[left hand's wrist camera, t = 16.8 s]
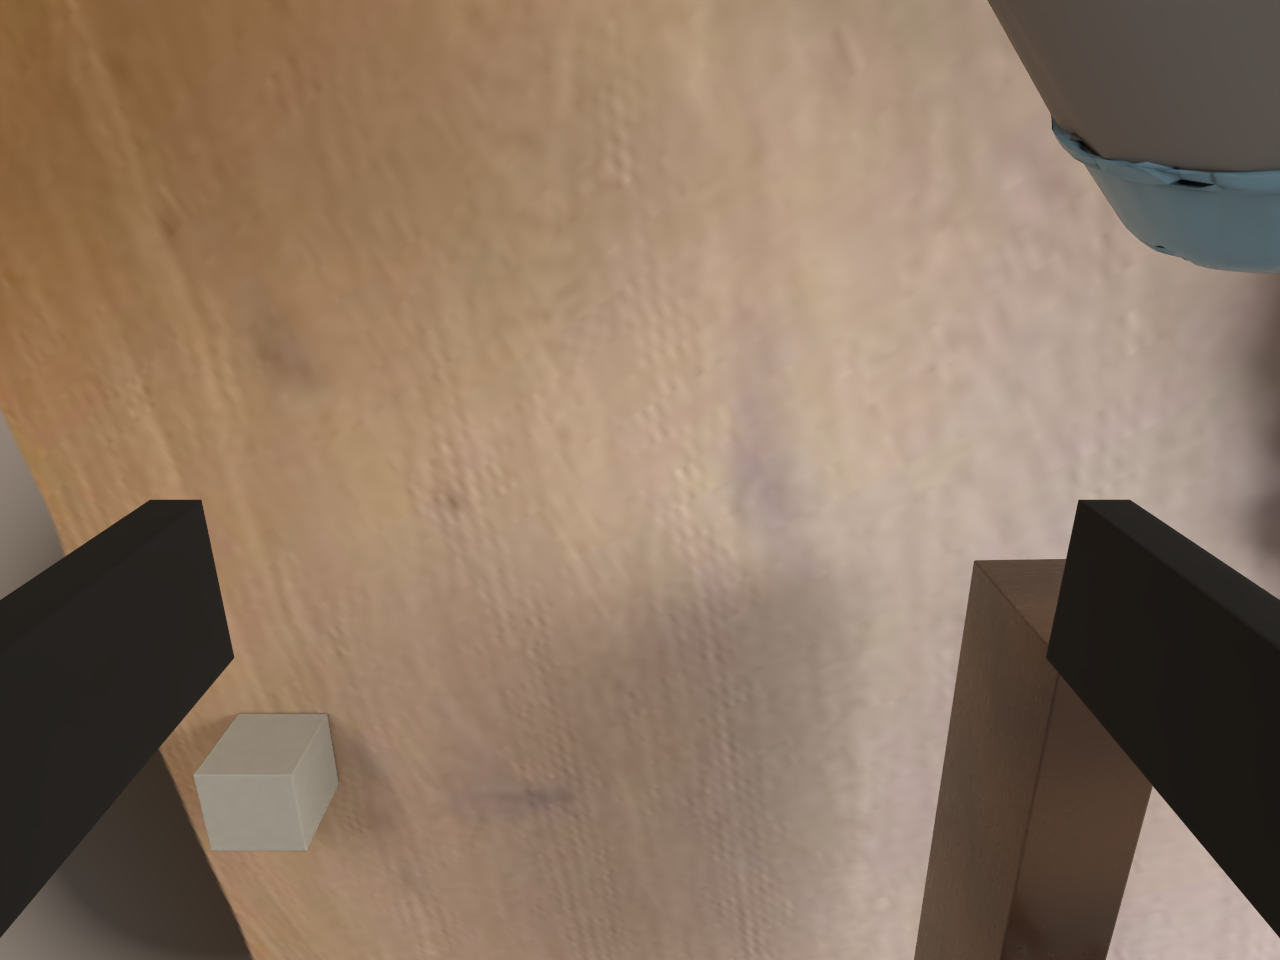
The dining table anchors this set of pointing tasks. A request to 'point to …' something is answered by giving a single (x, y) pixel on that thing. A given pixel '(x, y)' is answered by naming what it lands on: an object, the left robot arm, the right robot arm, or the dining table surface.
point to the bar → (1025, 792)
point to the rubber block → (267, 782)
